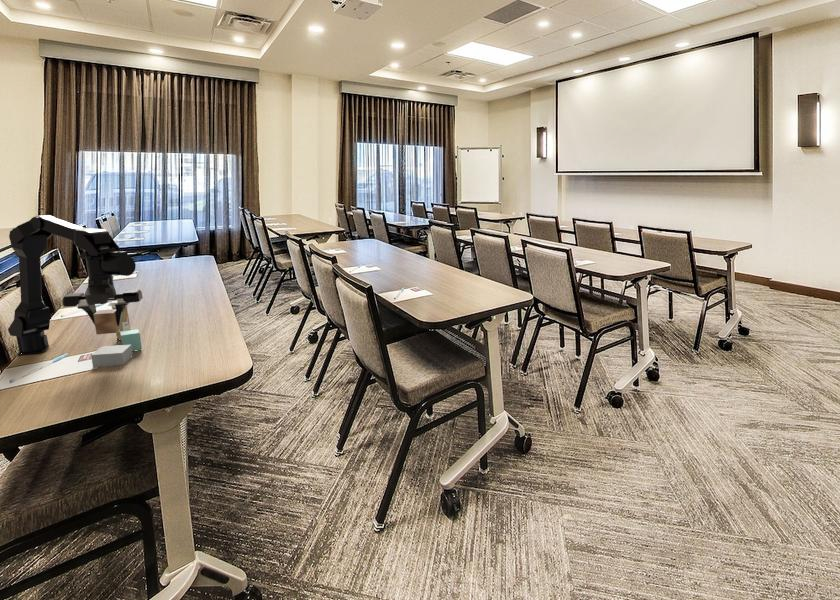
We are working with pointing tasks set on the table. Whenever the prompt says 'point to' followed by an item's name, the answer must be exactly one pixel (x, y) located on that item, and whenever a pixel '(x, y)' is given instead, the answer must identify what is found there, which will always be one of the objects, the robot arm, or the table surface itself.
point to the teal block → (131, 339)
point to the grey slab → (111, 355)
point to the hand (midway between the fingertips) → (108, 326)
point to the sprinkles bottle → (122, 320)
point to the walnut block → (106, 321)
